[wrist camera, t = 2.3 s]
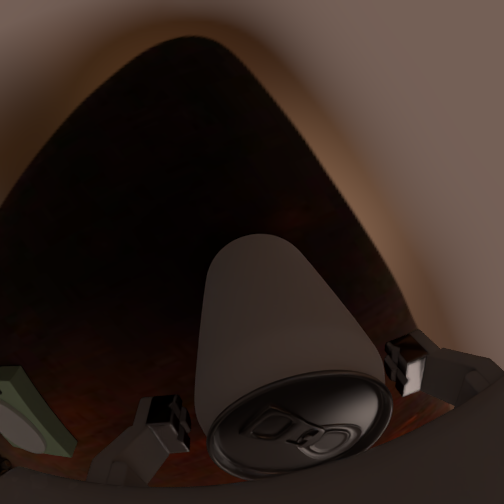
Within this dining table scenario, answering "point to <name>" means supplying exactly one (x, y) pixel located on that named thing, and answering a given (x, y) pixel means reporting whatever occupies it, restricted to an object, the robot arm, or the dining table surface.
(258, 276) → the can
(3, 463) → the bird figurine
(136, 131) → the dining table surface
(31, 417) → the scale
